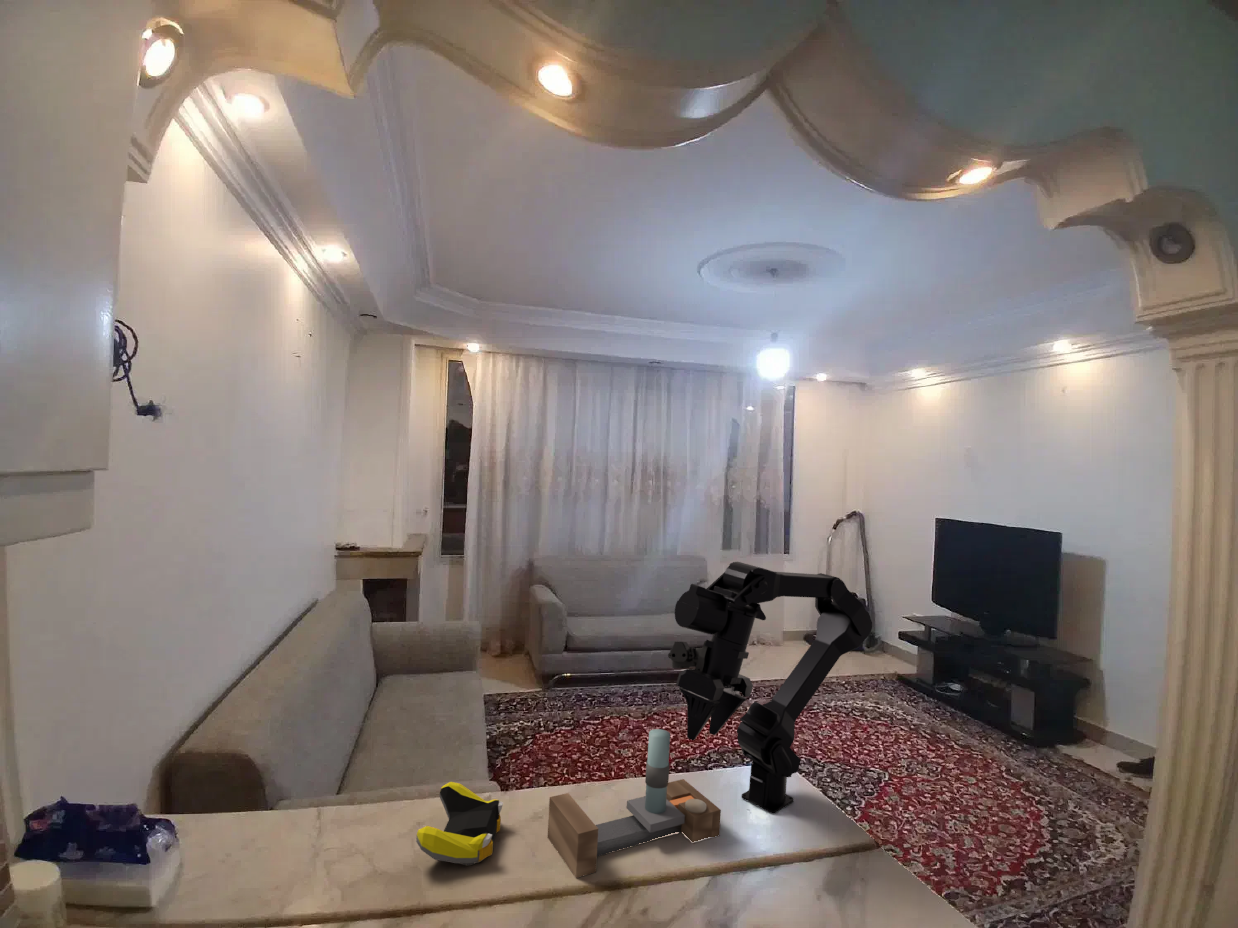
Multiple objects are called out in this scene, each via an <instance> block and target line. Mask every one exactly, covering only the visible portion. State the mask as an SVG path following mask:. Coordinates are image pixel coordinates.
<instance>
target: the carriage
mask: <svg viewBox="0 0 1238 928" xmlns="http://www.w3.org/2000/svg"><path fill="white" fill-rule="evenodd" d="M670 740H671V733H670V732H669V731H668V730H665V729H661V728H654V729H651V730H649V732H648V745H647V760H646V761H645V763H646V764H645V765H646V766H645V782H644V783H645V784H646V785H645V796H641V797H636V798H633V799H632V798H631V799H628V800H627V801H626V809H627V810H628V812H629V813H630V814H632V816H633V815H634V816H635V818H636V819H637V820H638V821H639V822H640V823H641V824H642V825H643V826H644V827H645V828H646V829H647V830H648V831H649V832H650V833H651V832H655V831H658V830H662V829H666V828H669V827H673V826H677V825H680V824H684V820H685V815H684V814H683V813H682V812H680V811H679V810H678V809H677V808H676V807H675V806H674V805H673V804H672V803H671V802H669V801H668V800H667V786H668V783H669V782H670V781H669V779H670V776H669V775H670V761H669V759H670V745H671V744H670V742H671V741H670Z"/></svg>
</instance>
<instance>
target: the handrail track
mask: <svg viewBox="0 0 1238 928" xmlns="http://www.w3.org/2000/svg"><path fill="white" fill-rule="evenodd" d="M595 825H596V827H597V828H598V844H597V857H601V856H604V855H607V854H606V853H608V854H610V853H609V852H611V853H613V852H612V851H615V852H618V851H617V850H619V849H622V850H624V849H623V848H626V849H628V848H627V847H629V848H631V847H630V846H633V847H636V846H639V845H638V844H639V843H643V842H647V841H650V840H652V839H655V838H658V837H662V836H665V835H668V834H671V833H675V832H681V824H680V825H677V826H673V827H669V828H666V829H662V830H658V831H655V832H651V833H650V832H649V831H648V830H647V829H646V828H645V827H644V826H643V825H642V824H641V823H640V822H639V821H638V820H637V819H636V818H635V816H634V815H633V814H632V815H630V816H629V815H628V816H626V817H621V818H618V819H614V820H610V821H606V822H601V823H598V824H595ZM650 842H651V841H650ZM647 843H648V842H647ZM643 844H644V843H643ZM635 845H636V846H635ZM619 851H620V850H619Z"/></svg>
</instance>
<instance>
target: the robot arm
mask: <svg viewBox="0 0 1238 928" xmlns="http://www.w3.org/2000/svg"><path fill="white" fill-rule="evenodd" d="M781 597H787V598H789V597H792V598H793V597H795V598H814V607H815V609H816V611H817V612H818V615H819V618H818V620H817V621H816V635H815V639H814V640H813V642H812V643H811V644H810V646H809V647H808V649H807V650H806V651H805V653H804V654H803V656H802V657H801V658H800V660H799V662H798V663H797V664H796V665H795V667H794V668H793V669H792V670H791V672H790V674H789V675H788V676H787V678H786V679H785V680H784V682H783V684H781V686H780V688H779V689H778V690H777V692H776V693H775V694H774V696H773V697H772V699H771V700H770V701H768V702H765V703H764V704H761V703H760V702H758V701H754V702H752V703H751V704H750V706H749V707H748V710H747V712H746V713H745V714H743V716H741V717H740V718H739V721H740V723H739V724H738V727H737V729H736V734H737V737H736V738H737V743H738V745H739V747H740V748H741V752H742V755H743V756H744V757H746V758H748V759H750V760H751V761H752V763H751V764H750V776H749V787H748V788H749V789H748V790H747V791H745V792H743V793H742V794H741V799H743V800H744V801H747V802H749V803H751V804H752V805H755V806H756V807H759V808H761V809H763V810H764V811H766V812H768V813H770V814H776V813H777V812H779V811H781V810H782V809H784V808H786V807H787V806H789V805H790V804H792V803H794V799H795V798H794V797H792V796H790V795H788V794H787V779H788V778H792V775H793V774H796V773H798V771H799V767H800V765H801V758H800V757H799V756H798V755H797V754H796V752H795V751H794V750H793V749H792V748H791V746H792V744H793V742H794V740H795V732H796V731H795V728H796V727H795V726H796V720H797V719H798V718H799V717H800V714H801V713H802V712H803V711H804V709H805V708H806V706H807V704H809V702H810V700H811V699H812V697H813V696H814V695H815V693H816V692H817V690H818V688H820V686H821V685H822V684H823V682H824V680H825V679H826V678H827V676H828V675H829V673H830V671H831V670H832V669H833V668H834V666H835V664H837V662H838V661H839V659H840V657H841V656H843V655H845V654H848V653H850V652H852V651H853V650H856V649H858V648H859V647H860V645H862V643H864V641H866V639H867V638H868V637H869V636H870V634H871V632H872V629H873V622H872V619H871V614H870V613H869V611H867V609H866V608H865V606H864V604H863V603H862V602H861V601H860V600H859V599H858V598H857V597H856V596H855V595H854V594H853V593H852V592H851V591H850V590H849V589H848V588H847V586H846V583H845V582H844V581H843V580H842V579H841V578H840V577H837V576H835V575H829V574H827V573H826V574H825V573H822V572H821V573H816V574H815V573H802V572H801V573H800V572H789V571H787V572H785V571H773V570H770V569H767V568H763V567H760V566H759V567H758V566H756V565H752V564H748V563H745V562H741V561H733V562H731V563H730V564H729V566H728V567H726V569H725V571H724V572H723V573H722V574H721V575H720V576H719V577H718V578H716V579H715V580H714V581H713V582H712V583H711V584H710V585H709V586H708V587H706V588H705V587H704V586H701V585H698V584H694V583H690V586H689V590H687V591H685V592H684V593H682V594H681V595H680V597H679V598H678V600H676V602H675V606H674V607H675V608H674V618H675V622H676V624H677V625H678V626H679V627H682V628H685V629H687V630H692V631H694V632H695V631H696V632H699V633H702V634H706V635H711V638H710V639H706V640H705V641H704V642H703V644H702V647H690V646H689V644H688V642H687V641H674V643H673V644H672V647H670V648H669V649H670V652H669V653H668V655H667V656H668V657H667V658H669V659H670V660H671V668H672V669H684V670H682V671H681V672H679V673H678V677H677V679H676V684H675V685H676V686H677V687H678V689H679V692H681V693H682V695H683V697H684V698H685V700H686V704H687V707H686V708H687V712H686V713H687V717H686V718H687V720H686V721H687V723H686V724H687V725H686V726H687V732H686V733H687V734H686V735H687V736H686V737H687V739H689V740H691V741H695V740H696V739H697V737H698V736H699V735H700V733H701V732H702V730H703V728H704V727H705V726H706V724H707V722H708V721H710V722H709V728H708V729H709V730H708V733H709V734H710V735H712V736H716V735H717V734H718V733H719V732H720V730H721V729H722V728H723V727H724V725H725V724H726V723H727V722H728V721H729V719H730V718H731V717H732V716H733V715H734V713H735V712H736V711H737V710H738V709H739V707H740V706H742V705H743V703H744V702H746V700H747V698H748V697H751V694H752V691H753V687H754V684H753V683H752V681H751V678H749V677H748V676H745V675H743V674H740V673H741V669H742V666H743V662H744V660H745V659H746V660H747V659H748V658H749V654H750V653H749V652H748V651H747V647H748V645H749V640H750V637H751V633H752V630H753V626H754V622H755V619H758V620H761V621H765V620H766V619H767V616H766V615H765V613H764V612H763V609H762V608H761V604H763V603H767V602H772V601H774V600H775V599H776V598H781ZM691 667H692V668H691ZM740 693H741V695H740Z"/></svg>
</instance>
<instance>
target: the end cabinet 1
mask: <svg viewBox="0 0 1238 928" xmlns="http://www.w3.org/2000/svg"><path fill="white" fill-rule="evenodd" d="M548 803H549V804H548V820H547V823H548V824H547V839H548V840H549V842H550V843H551V844H553V845H552V846H553V848H554V849H555V850H556V851H558V852H557V853H558V855H559V856H560V857H561V859H562V860H563V862H564V863H565V864H566V865H565V866H567V868H568V869H569V870H570V872H571V871H572V872H571V874H572V875H573V876H574V878H575V877H576V878H575V879H578V878H581V877H580V876H582V877H584V876H583V875H585V876H588V875H591V874H590V873H592V874H594V872H595V873H596V872H597V862H598V861H597V860H598V859H597V858H598V856H597V844H598V828H597V827H596V825H597V824H595V823H594V822H593V820H592V819H591V818H590V817H589V816H588V815H587V813H586V812H585V811H584V810H583V808H581V806H580V804H578V803H577V802H576V800H575V799H574V798H573V797H572V795H570V793H569V792H565V793H562V794H558V795H554V796H549V802H548Z"/></svg>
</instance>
